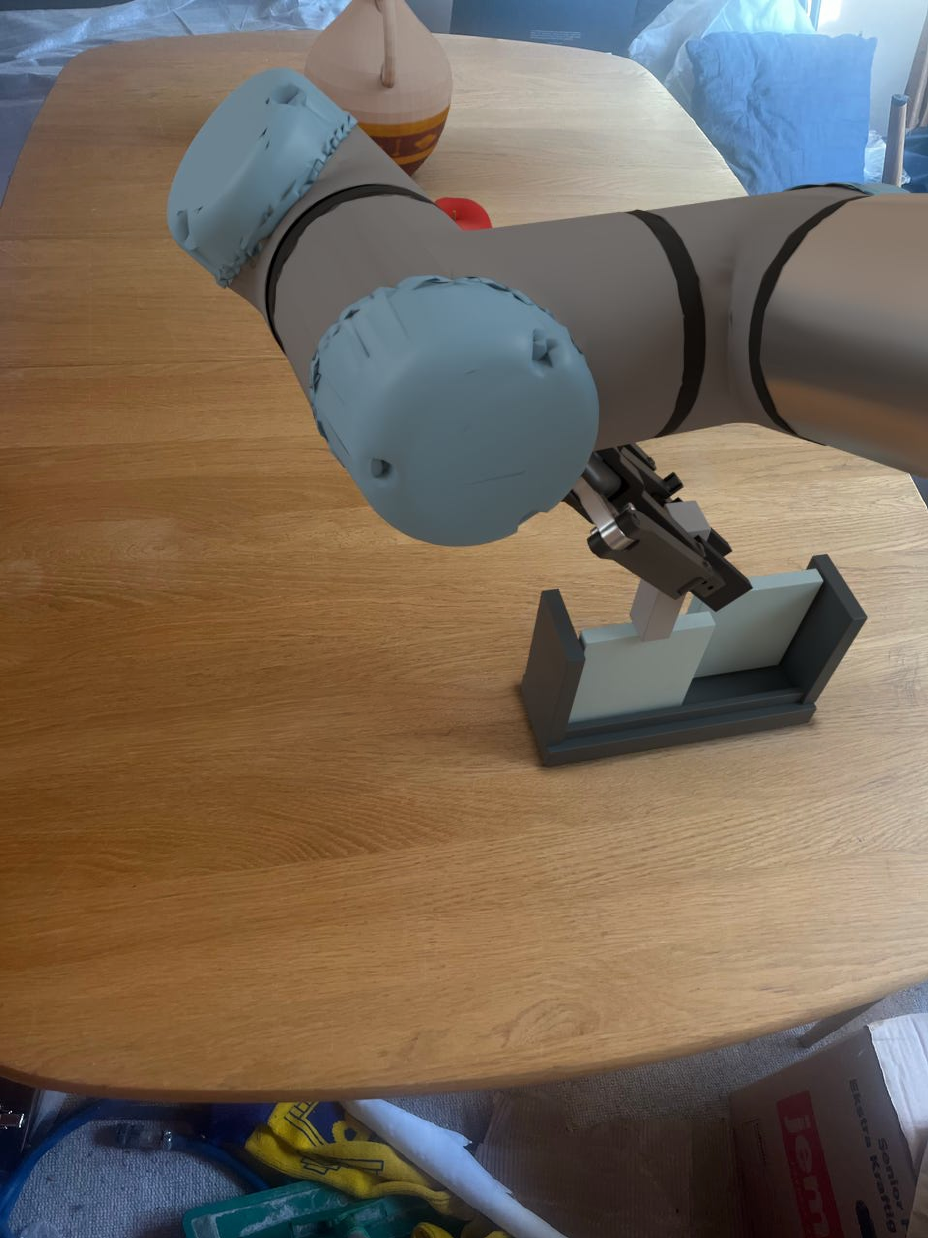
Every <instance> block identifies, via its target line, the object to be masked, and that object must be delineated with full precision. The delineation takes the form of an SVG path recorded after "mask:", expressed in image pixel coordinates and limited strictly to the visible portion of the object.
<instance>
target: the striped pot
mask: <svg viewBox="0 0 928 1238" xmlns="http://www.w3.org/2000/svg"><path fill="white" fill-rule="evenodd" d="M313 41H314V42H313V43H312V45H311V47H310V49H309V51H308V54H307V55H306V58H305V65H304V74H303V75H304V76H305V77H306V78H307V79H308V80H310V81H311V82H312V83H313V84H314V85H315V86H316V87H317V88H318V89H320V90H321V91H322V92H323V93H324V94H325V95H326V96H327V97H328V98H330V99H331V100H332V101H333V102H334V103H335V104H336V105H337V106H338V107H340V108H341V109H342V110H343V111H347V112H349V113H350V114H351V115H352V116H353V117H354V118H355V119H356V120H357V121H358V123H357V125H358V126H359V127H360V128H361V129H362V130H363V131H364V132H365V133H366V134H367V135H368V136H369V137H370V138H371V139H372V140H373V141H374V142H375V143H376V144H377V145H378V146H379V147H380V148H381V149H382V150H383V151H384V152H385V153H386V154H387V155H388V156H389V157H390V158H391V159H392V160H393V161H394V162H395V163H396V164H397V165H398V166H399V167H400V168H401V169H402V170H403V171H404V172H405V173H406V174H407V175H408V176H409V177H410V178H412V176H413V175H414V174H415V172H417V171H418V169H419V168H420V167H421V166H422V165H423V164H424V163H425V161H426V160H428V158H429V157H430V155H432V153H433V152H434V150H435V148H436V147H437V145H438V142H439V140H440V138H441V135H442V134H443V132H444V130H445V126H446V123H447V119H448V116H449V112H450V109H451V102H452V95H453V88H454V84H453V76H452V67H451V63H450V61H449V59H448V57H447V55H446V52H445V50H444V48H443V46H442V44H441V43H440V42H439V41H438V40H437V38H436V36H434V35H433V33H432V32H431V31H430V30H429V29H428V27H426V26H425V24H424V23H423V22H422V21H421V20H420V19H419V18H418V17H417V16H416V14H415V13H414V11H413V10H412V9H411V7H410V6H409V5H408V3H407V2H406V1H405V0H350V2H349V3H348V4H347V5H346V7H345V8H344V9H343V10H342V11H341V12H340V13H339V14H338V15H337V16H336V17H335V18H334V19H333V20H332V21H331V22H329V24H327V26H326V27H325V28H324V29H323V30H322V31H321V32H320V33H319V35H317V37H316V38H315V39H314V40H313Z"/></svg>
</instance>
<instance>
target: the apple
mask: <svg viewBox="0 0 928 1238" xmlns="http://www.w3.org/2000/svg"><path fill="white" fill-rule="evenodd" d="M433 202H434V203H435V204H436V205H437V206H439V207H440V208H441V209H442V210H443V211H444V212H445V213H446V214H447V215H448V216H449V217H450V218H451V219H452V220H453V221H454V222H455V223H456V224H457V225H458V226H459V227H460V228H461V229H462V230H467V231H472V230H481V229H488V228H494V227H493V224H492V220H491V217H490V216H489V213H487V211H486V209H485V208H484V207H483V206H482V205H480V204H479V203H478V202H476V201H475V200H473V199H470V198H467V197H466V198H465V197H454V196H453V197H452V196H446V197H445V196H444V197H440V198H438V199H436V200H433Z"/></svg>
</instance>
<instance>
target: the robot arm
mask: <svg viewBox="0 0 928 1238" xmlns="http://www.w3.org/2000/svg"><path fill="white" fill-rule="evenodd" d="M357 123H358V121H357V120H356V119H355V118H354V117H353V116H352V115H351V114H350V113H349V112H347V111H343V110H342V109H341V108H340V107H338V106H337V105H336V104H335V103H334V102H333V101H332V100H331V99H330V98H328V97H327V96H326V95H325V94H324V93H323V92H322V91H321V90H320V89H318V88H317V87H316V86H315V85H314V84H313V83H312V82H311V81H310V80H308V79H307V78H306V77H305V76H304V74H303V73H300V72H299V71H298V70H295V69H292V68H288V67H272V68H267V69H265V70H262V71H260V72H258V73H255V74H253V75H252V76H250V77H248V78H247V79H246V80H245V81H243V82H242V83H240V84H239V85H238V86H237V87H235V88H234V89H233V90H231V92H230V93H229V94H228V95H227V96H226V97H225V98H224V99H223V100H222V101H221V102H220V103H219V104H218V106H217V107H216V108H215V109H214V111H213V112H212V113H211V114H210V116H209V117H208V118H207V120H205V123H204V124H203V125H202V127H200V129H199V130H198V132H197V133H196V135H195V137H194V138H193V140H192V141H191V142H190V144H189V146H188V148H187V150H186V152H185V153H184V154H183V157H182V159H181V161H180V163H179V165H178V168H177V170H176V171H175V175H174V178H173V180H172V183H171V186H170V190H169V193H168V198H167V205H166V221H167V226H168V230H169V232H170V235H171V238H172V239H173V240H174V242H175V243H176V244H177V246H178V247H179V248H180V249H181V250H182V251H184V252H185V253H186V254H187V255H188V256H189V257H190V258H192V260H194V261H195V262H196V263H198V264H199V265H200V266H201V267H203V268H204V269H205V270H206V271H207V272H208V273H209V274H211V275H212V276H213V277H214V281H215V283H216V285H217V286H219V287H220V288H222V289H224V290H226V289H227V288H228V289H229V290H231V291H232V292H234V293H236V295H238V296H240V297H241V298H243V299H244V300H246V301H247V303H249V304H251V306H253V307H254V308H255V309H256V310H257V311H258V312H259V313H260V314H261V315H262V317H263V320H264V321H265V324H266V325H267V327H268V329H269V332H270V334H271V336H272V337H273V339H274V341H275V342H276V343H277V345H278V347H279V349H280V350H281V352H282V353H283V355H284V356H285V357H286V358H287V360H288V363H289V364H290V367H291V369H292V371H293V373H294V376H295V377H296V379H297V381H298V383H299V385H300V387H301V390H302V392H303V394H304V396H305V398H306V400H307V402H308V405H309V407H310V409H311V412H312V415H313V419H314V421H315V426H316V429H317V431H318V434H319V436H321V437H322V438H324V439H325V441H326V444H327V447H328V449H329V452H330V454H331V455H332V456H333V457H334V458H335V459H336V460H337V461H338V462H339V463H340V465H341V466H342V468H343V469H345V470H346V471H347V474H349V476H350V477H351V479H352V480H353V482H354V483H355V485H356V486H357V488H358V490H359V491H360V493H361V494H362V496H363V497H364V498H365V500H366V502H367V503H368V504H369V506H370V507H371V508H372V509H373V511H374V512H375V513H376V514H377V516H378V517H380V518H381V519H382V520H384V522H386V523H387V524H388V525H390V526H391V527H392V528H394V529H395V530H397V531H398V532H400V533H402V534H403V535H405V536H407V537H410V538H412V539H414V540H417V541H420V542H423V543H427V544H431V545H435V546H441V547H451V548H453V547H454V548H455V547H457V548H461V547H464V548H465V547H475V546H482V545H486V544H491V543H494V542H497V541H501V540H503V539H506V538H508V537H511V536H513V535H515V534H517V532H518V531H519V526H521V525H522V524H523V523H525V522H526V521H528V520H530V519H531V518H533V517H534V516H536V515H538V514H539V513H545V514H548V513H549V512H551V511H552V510H553V509H554V508H556V507H557V506H558V505H559V504H560V503H565V504H566V505H567V506H568V507H570V508H572V509H573V510H574V511H576V512H577V513H578V514H579V515H580V516H581V517H583V518H584V520H586V521H587V522H588V523H589V524H591V525H594V526H593V528H591V529H590V530H589V534H590V536H588V537H587V538H586V544H587V546H588V549H589V550H590V552H591V553H592V554H593V555H595V556H596V557H597V558H599V559H600V560H608V561H613V562H615V563H616V564H618V565H619V566H621V567H623V568H625V569H626V570H627V571H629V572H631V573H632V574H633V575H635V576H637V577H638V578H640V579H643V580H645V581H646V582H648V583H649V584H651V585H652V586H654V587H655V588H657V589H658V590H660V591H662V592H663V593H665V594H666V595H668V596H669V597H671V598H672V599H674V600H677V599H678V598H680V597H681V596H683V595H685V594H686V593H687V594H688V593H691V594H692V596H693V595H695V596H696V597H697V598H698V599H700V600H701V601H702V602H703V603H705V604H706V605H707V606H708V607H710V608H711V609H712V610H713V611H715V612H717V611H719V610H720V609H722V608H723V607H725V606H727V605H728V604H730V603H731V602H733V601H734V600H736V599H737V598H739V597H740V596H742V595H744V594H745V593H747V592H748V591H750V590H751V589H753V587H752V585H751V583H750V581H749V579H748V578H749V577H747V576H746V575H745V574H744V573H742V572H741V571H740V570H739V569H738V568H737V567H736V566H734V565H733V564H732V563H731V562H730V560H728V559H727V558H726V556H728V555H729V554H731V553H733V549H732V547H731V545H730V544H729V542H728V541H727V540H726V539H725V538H724V537H723V536H722V535H721V534H719V533H718V532H717V531H716V530H715V529H714V528H713V527H712V526H711V525H710V527H711V531H710V533H709V536H708V539H707V541H705V540H704V539H703V538H702V537H701V536H700V535H697V536H696V537H694V538H693V537H692V536H691V535H690V534H689V533H688V532H687V531H686V530H685V529H684V528H683V527H682V526H681V525H680V524H679V523H678V522H677V521H676V520H674V519H673V518H672V517H671V516H670V515H669V514H668V513H667V512H666V511H665V510H664V509H663V507H664V504H667V503H676V502H684V500H682V498H681V497H679V496H677V497H676V498H675V499H672V498H671V497H672V496H673V495H675V494H677V492H679V491H681V490H682V489H683V488H684V487H685V486H684V484H683V482H682V481H681V479H680V478H679V476H678V475H677V473H676V472H675V471H672V472H671V473H669V474H668V475H666V476H665V477H663V478H662V477H661V476H660V475H658V473H656V472H655V471H657V470H658V468H657V465H656V461H655V460H654V458H653V457H652V456H649V455H648V454H647V452H645V451H644V450H643V449H642V448H641V447H640V446H639V445H638V443H641V442H645V441H649V440H652V439H653V440H654V439H660V438H665V437H669V436H674V435H679V434H684V433H688V432H694V431H699V430H704V429H710V428H715V427H719V426H720V427H721V426H724V425H730V424H752V425H758V426H760V427H764V428H766V429H769V430H771V431H775V432H777V433H781V434H783V435H788V436H791V437H793V438H797V439H799V440H803V441H806V442H810V443H812V444H816V445H820V446H823V447H830V448H833V449H836V450H839V451H841V452H845V453H847V454H851V455H854V456H857V457H859V458H863V459H865V460H868V461H871V462H873V463H877V464H880V465H882V466H885V467H889V468H891V469H895V470H898V471H901V472H902V473H903V472H904V473H905V474H909V475H911V476H915V477H918V478H920V479H923V480H927V481H928V192H913V193H912V192H911V191H909V190H907V189H905V188H903V187H900V186H899V185H895V184H889V183H884V182H867V183H866V182H865V183H858V182H853V181H852V182H851V181H826V182H820V183H807V184H800V185H793V186H790V187H787V188H785V189H783V190H782V191H777V192H768V193H761V194H753V195H745V196H744V195H743V196H738V197H737V196H736V197H730V198H724V199H723V198H722V199H717V200H710V201H708V200H707V201H701V202H695V203H689V204H688V203H687V204H681V205H675V206H674V205H673V206H668V207H660V208H654V209H646V210H642V209H638V208H637V209H634V210H629V211H627V210H626V211H615V212H608V213H607V212H606V213H599V214H592V215H591V214H590V215H582V216H575V217H568V218H560V219H552V220H551V219H550V220H543V221H537V222H530V223H529V222H527V223H521V224H514V225H513V224H512V225H506V226H504V225H503V226H498V227H497V226H496V227H493V228H488V229H481V230H472V231H467V230H462V229H461V228H460V227H459V226H458V225H457V224H456V223H455V222H454V221H453V220H452V219H451V218H450V217H449V216H448V215H447V214H446V213H445V212H444V211H443V210H442V209H441V208H440V207H439V206H437V205H436V204H435V203H434V200H432V198H431V197H430V196H429V195H428V194H427V193H426V192H425V191H424V190H423V189H422V188H421V187H420V186H419V185H418V183H417V182H416V181H414V180H413V178H412V177H409V176H408V175H407V174H406V173H405V172H404V171H403V170H402V169H401V168H400V167H399V166H398V165H397V164H396V163H395V162H394V161H393V160H392V159H391V158H390V157H389V156H388V155H387V154H386V153H385V152H384V151H383V150H382V149H381V148H380V147H379V146H378V145H377V144H376V143H375V142H374V141H373V140H372V139H371V138H370V137H369V136H368V135H367V134H366V133H365V132H364V131H363V130H362V129H361V128H360V127H359V126H358V125H357ZM687 594H686V595H687Z"/></svg>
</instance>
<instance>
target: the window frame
mask: <svg viewBox="0 0 928 1238" xmlns="http://www.w3.org/2000/svg"><path fill="white" fill-rule="evenodd" d="M747 578H748V579H749V581H750V583H751V585H752V587H753V589H751V590H750V591H748V592H747V593H745V594H744V595H742V596H740V597H739V598H737V599H736V600H734V601H733V602H731V603H730V604H728V605H727V606H725V607H723V608H722V609H720V610H719V611H717V612H715V611H713V610H712V609H711V608H710V607H708V606H707V605H706V604H705V603H703V602H702V601H701V600H700V599H698V598H697V597H696V596H695V595H693V594H692V598H691V600H690V603H689V605H688V608H687V609H686V610H687V611H686V613H685V615H686V614H693V613H701V612H708V611H709V612H710V614H711V616H712V618H713V620H714V622H715V624H716V625H715V628H714V630H713V632H712V635H711V637H710V639H709V642H708V644H707V646H706V649H705V651H704V653H703V655H702V658H701V660H700V662H699V665H698V667H697V669H696V672H695V674H694V676H693V679H692V681H691V683H690V686H689V688H688V690H687V693H686V695H685V697H684V700H683V702H682V704H681V706H677V707H671V708H664V709H658V710H652V711H646V712H639V713H633V714H627V715H621V716H614V717H608V718H602V719H596V720H590V721H583V722H577V723H571V724H568V721H569V718H570V714H571V710H572V707H573V703H574V700H575V696H576V693H577V689H578V685H579V682H580V678H581V675H582V671H583V668H584V664H585V660H586V658H585V655H584V653H583V650H582V647H581V645H580V642H579V640H578V639H579V636H578V634H577V632H576V630H575V627H574V624H573V622H572V619H571V617H570V614H569V612H568V609H567V605H566V604H565V601H564V598H563V596H562V594H561V591H560V588H552V589H545V590H544V589H543V590H541V593H540V597H539V602H538V607H537V612H536V613H537V614H536V618H535V621H534V627H533V632H532V636H531V638H532V639H531V642H530V647H529V652H528V657H527V662H526V666H525V671H524V674H523V675H522V679H521V685H520V689H519V690H520V693H521V696H522V699H523V702H524V705H525V709H526V712H527V715H528V718H529V721H530V725H531V727H532V730H533V733H534V735H535V739H536V743H537V746H538V749H539V752H540V754H541V757H542V760H543V764H544V767H546V768H549V767H550V768H551V767H555V766H560V765H561V766H562V765H566V764H567V765H568V764H572V763H579V762H585V761H590V760H591V761H592V760H596V759H603V758H609V757H614V756H620V755H625V754H631V753H639V752H644V751H650V750H657V749H662V748H667V747H673V746H680V745H685V744H691V743H699V742H703V741H709V740H716V739H722V738H728V737H732V736H738V735H745V734H750V733H757V732H763V731H769V730H775V729H781V728H785V727H792V726H798V725H805V724H808V723H810V721H811V719H812V718H813V717H814V715H815V713H816V711H817V710H818V706H817V705H816V702H817V701H818V699H819V698H820V696H821V695H822V693H823V691H825V688H826V687H827V685H828V684H829V681H830V680H831V678H832V677H833V675H834V674H835V672H836V670H837V669H838V667H839V665H840V664H841V662H842V661H843V658H845V656H846V654H847V653H848V651H849V649H850V648H851V646H852V644H853V643H854V641H855V639H856V637H857V636H858V634H859V633H860V631H861V629H862V628H863V627H864V625H865V623H866V622H867V620H868V618H869V617H868V615H867V613H866V612H865V610H864V609H863V607H862V606H861V604H860V602H859V601H858V599H857V598H856V596H855V595H854V593H853V592H852V590H851V588H850V586H849V585H848V583H847V581H845V579H844V578H843V576H842V574H841V573H840V571H839V569H838V568H837V566H836V565H835V563H834V561H833V560H832V558H831V557H830V555H829V554H828V553H823V554H814V555H812V556H811V558H810V560H809V562H808V565H807V566H806V568H805V569H803V570H795V571H788V572H780V573H773V574H765V575H758V576H751V577H747Z"/></svg>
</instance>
